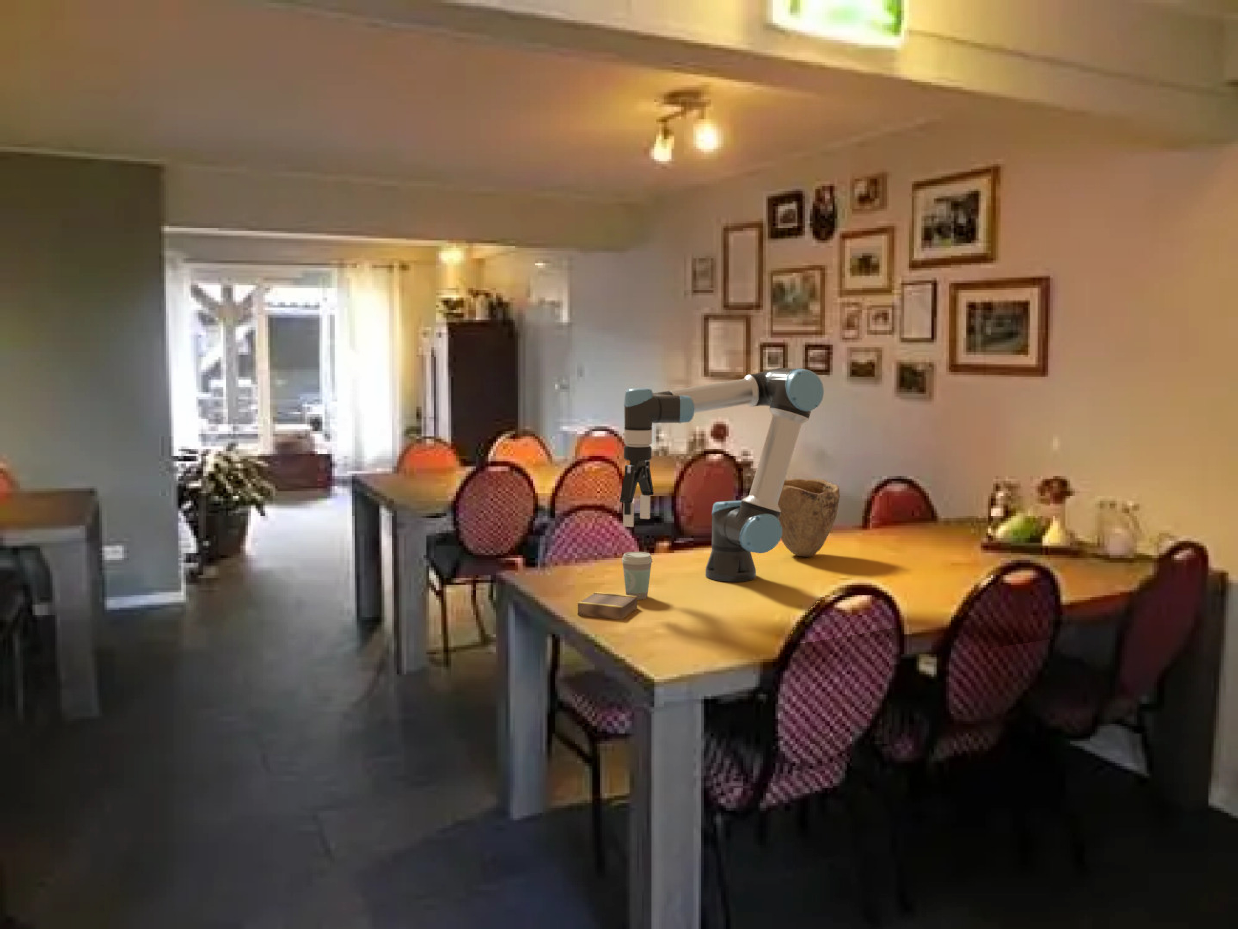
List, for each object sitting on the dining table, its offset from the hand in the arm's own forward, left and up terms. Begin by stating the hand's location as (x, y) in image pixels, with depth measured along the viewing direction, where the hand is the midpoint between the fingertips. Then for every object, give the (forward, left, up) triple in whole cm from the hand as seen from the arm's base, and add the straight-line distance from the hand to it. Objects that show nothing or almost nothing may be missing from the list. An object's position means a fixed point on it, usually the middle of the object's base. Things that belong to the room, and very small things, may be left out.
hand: (636, 522), depth 275 cm
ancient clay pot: (-33, -71, -21) cm, 81 cm away
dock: (+2, +17, -21) cm, 27 cm away
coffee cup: (0, 0, -21) cm, 21 cm away
